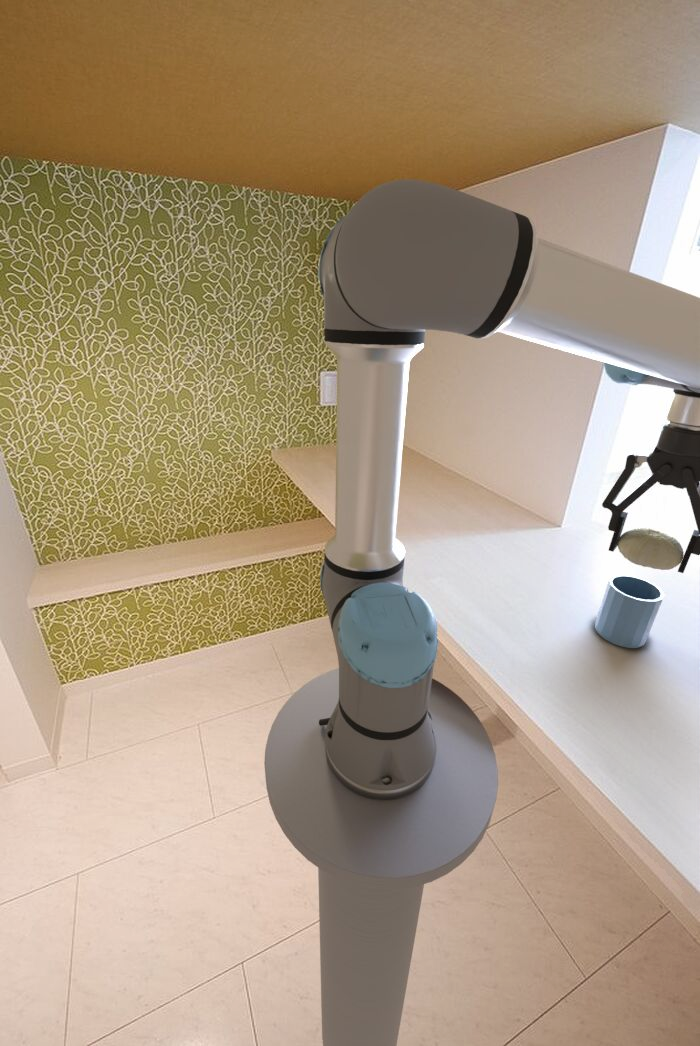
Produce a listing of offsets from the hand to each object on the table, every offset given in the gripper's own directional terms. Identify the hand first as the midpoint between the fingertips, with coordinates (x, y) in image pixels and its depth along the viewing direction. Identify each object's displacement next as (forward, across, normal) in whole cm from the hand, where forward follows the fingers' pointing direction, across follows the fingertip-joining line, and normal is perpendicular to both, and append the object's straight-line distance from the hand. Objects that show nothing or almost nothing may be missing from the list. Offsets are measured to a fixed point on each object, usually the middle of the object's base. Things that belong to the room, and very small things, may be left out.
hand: (645, 558), depth 73 cm
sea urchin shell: (0, 0, 0) cm, 0 cm away
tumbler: (+16, 0, 0) cm, 16 cm away
